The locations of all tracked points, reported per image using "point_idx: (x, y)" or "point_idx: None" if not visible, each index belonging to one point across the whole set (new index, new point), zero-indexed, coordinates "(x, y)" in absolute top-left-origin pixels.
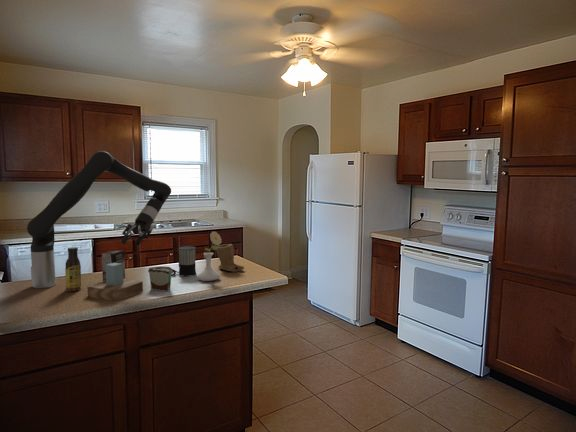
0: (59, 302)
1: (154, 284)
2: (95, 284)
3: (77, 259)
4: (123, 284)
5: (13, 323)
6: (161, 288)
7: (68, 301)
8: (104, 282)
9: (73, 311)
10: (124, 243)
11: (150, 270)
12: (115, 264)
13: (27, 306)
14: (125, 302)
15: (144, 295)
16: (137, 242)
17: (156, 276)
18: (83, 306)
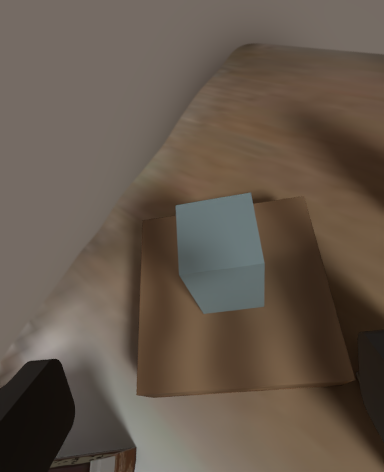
0: (310, 143)
1: (102, 454)
2: (304, 228)
3: None
4: (184, 298)
5: (234, 51)
6: (66, 458)
7: (296, 161)
8: (304, 271)
9: (188, 137)
10: (367, 397)
11: (86, 462)
12: (202, 231)
13: (350, 87)
14: (110, 252)
15: (100, 347)
16: (10, 382)
17: (59, 463)
18: (202, 166)
